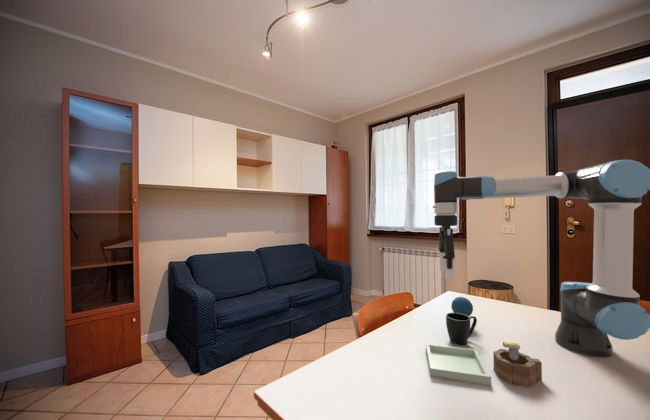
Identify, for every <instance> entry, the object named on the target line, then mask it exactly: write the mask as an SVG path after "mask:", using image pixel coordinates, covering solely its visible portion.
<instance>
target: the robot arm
mask: <svg viewBox="0 0 650 420" xmlns="http://www.w3.org/2000/svg"><path fill="white" fill-rule="evenodd" d="M457 174H458V173H457V172H456V170H455V171H454V170H451V171H450V170H446V171H445V170H444V171H439V172H436V173H435V174H434V182H433V183H434V185H433V190H434V191H433V195H434V196H433V197H434V201H433V202H434V205H433V206H432V208H433V209H434V214H435V216H434V226H439V230H438V231H439V241H438V243H439V244H438V250H439V251H438V252H439V270H440V271H441V270H442V271H444V278H445V279H455V268H454V267H455V266H454V261H455V258H456V254H455V246H454V233H453V232H454V230H453V228H451V227H455V226H458V216H457V214H458V199H460V200H462V201H463V200H464V201H469V200H482V199H483V200H484V199H505V198H506V199H508V198H509V199H510V198H533V197H555V198H557V199H580V200H587V205H588V206H589V207H590V208H592V209H593V249H592V251H593V255H592V256H593V257H592V282H591V283H590V282H582V281H562V282H561V284H560V290H559V293H560V322H559V325H558V327H557V329H556V331H555V334H554V337H555V338H554V340H555V342H556V343H557V344H558V345H559V346H561V347H563V348H564V349H567V350H570V351H572V352H575V353H578V354H583V355H587V356H592V357H597V358H598V357H599V358H600V357H601V358H606V357H607V358H608V357H611V356H613V355H614V353H613V351H614V349H613V346H612V342H611V341H610V337H612V338H615V339H617V340H627V341H628V340H635V339H638V338H640V337H641V336H644V335H645V334H646V333H648V331H649V330H650V314H649V312H648V311H646V309H645V308H643V307H642V306H641V303H640V301H641V298H640V294H639V293H638V292H637V291H636V290H634V289H633V278H634V277H633V275H634V273H633V271H634V269H633V267H634V266H633V265H634V220H635V219H634V218H635V214H634V212H635V209H637V208H638V207H640V206H642V203H643V200H642V199H643V196H644V195H646V194H647V193H648V192H649V191H650V168H649V167H648V166H646V165H644V164H643V162H640V161H636V160H632V159H620V160H618V159H616V160H610V161H608V162H604V163H600V164H597V165H592V166H588V167H583V168H579V169H576V170H571V171H563V172H562V171H560V172H557V173H555V175H543V176H541V175H539V176H522V177H508V178H495V177H494V176H492V175H489V176H488V175H481V176H458V175H457ZM609 336H610V337H609Z"/></svg>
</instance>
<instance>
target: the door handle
mask: <svg viewBox="0 0 650 420" xmlns="http://www.w3.org/2000/svg"><path fill="white" fill-rule="evenodd" d="M502 346H503V348H505V349H507V348H508V350H509V361H510V362H512V363H518V364H519V352H520V350H521V345H520V344H519V343H517V342H510V341H509V342H507V341H502Z"/></svg>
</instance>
